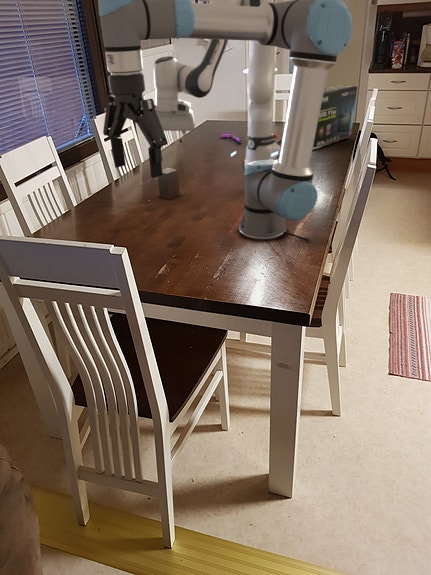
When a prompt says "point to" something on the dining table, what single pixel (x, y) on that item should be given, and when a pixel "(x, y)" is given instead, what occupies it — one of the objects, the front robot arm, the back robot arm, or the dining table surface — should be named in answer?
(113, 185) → the dining table surface
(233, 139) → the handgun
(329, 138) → the router box
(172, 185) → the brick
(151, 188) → the dining table surface
